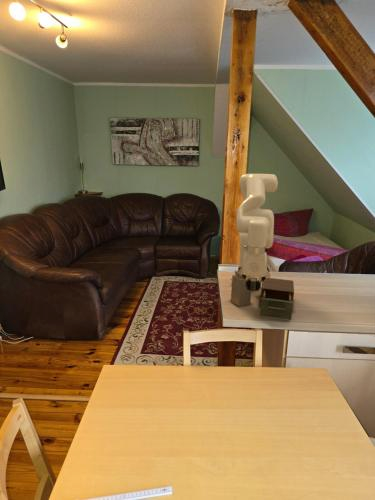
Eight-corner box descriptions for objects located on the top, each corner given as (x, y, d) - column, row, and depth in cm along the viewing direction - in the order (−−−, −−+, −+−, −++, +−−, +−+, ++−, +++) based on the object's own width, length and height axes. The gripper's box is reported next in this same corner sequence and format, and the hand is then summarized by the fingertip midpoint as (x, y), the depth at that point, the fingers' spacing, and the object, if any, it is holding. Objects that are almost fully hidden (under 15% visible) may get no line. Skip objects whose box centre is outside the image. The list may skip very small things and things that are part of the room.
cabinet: (291, 312, 153) (294, 291, 150) (259, 307, 156) (261, 288, 153) (291, 299, 166) (293, 280, 163) (261, 295, 170) (263, 277, 167)
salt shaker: (248, 290, 144) (249, 278, 143) (249, 287, 147) (250, 276, 146) (256, 291, 143) (257, 280, 142) (257, 288, 146) (258, 277, 145)
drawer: (291, 325, 139) (293, 307, 136) (258, 321, 142) (260, 303, 140) (290, 307, 156) (292, 290, 153) (261, 303, 159) (262, 287, 157)
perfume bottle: (238, 306, 157) (241, 270, 152) (230, 301, 163) (232, 266, 158) (250, 304, 160) (253, 268, 155) (241, 298, 166) (244, 264, 161)
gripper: (235, 249, 139) (232, 290, 144) (276, 254, 134) (271, 295, 140) (237, 245, 146) (235, 283, 151) (276, 248, 141) (272, 288, 147)
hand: (252, 289), depth 145 cm, fingers closed on salt shaker, 3 cm apart
